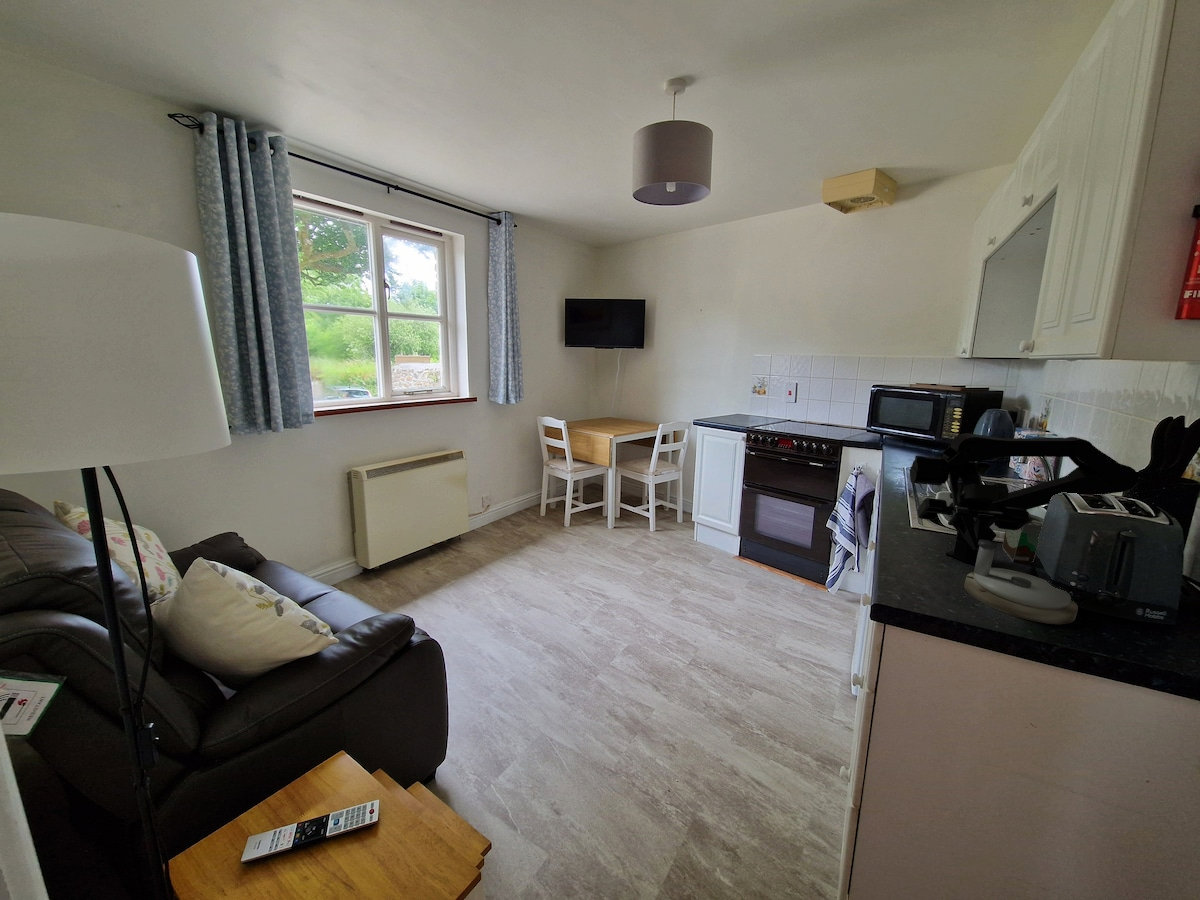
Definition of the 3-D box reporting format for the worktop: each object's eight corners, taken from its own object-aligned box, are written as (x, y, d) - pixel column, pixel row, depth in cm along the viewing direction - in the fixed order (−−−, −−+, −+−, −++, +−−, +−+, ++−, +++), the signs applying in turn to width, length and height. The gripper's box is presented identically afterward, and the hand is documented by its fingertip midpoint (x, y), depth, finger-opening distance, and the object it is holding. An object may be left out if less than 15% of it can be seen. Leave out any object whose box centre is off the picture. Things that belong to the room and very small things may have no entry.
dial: (996, 567, 98) (1004, 533, 97) (1083, 600, 86) (1094, 560, 84) (958, 579, 93) (966, 543, 91) (1047, 615, 80) (1058, 574, 78)
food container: (1049, 571, 103) (1060, 530, 100) (1014, 564, 106) (1024, 524, 103) (1031, 551, 113) (1041, 513, 111) (1000, 545, 116) (1008, 509, 114)
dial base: (990, 574, 100) (992, 565, 100) (1092, 612, 86) (1095, 602, 85) (947, 588, 94) (949, 578, 93) (1049, 632, 79) (1052, 621, 79)
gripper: (930, 463, 100) (938, 526, 93) (1036, 472, 94) (1054, 541, 86) (914, 487, 109) (920, 547, 102) (1010, 497, 103) (1023, 562, 95)
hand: (976, 549), depth 96 cm, fingers closed
